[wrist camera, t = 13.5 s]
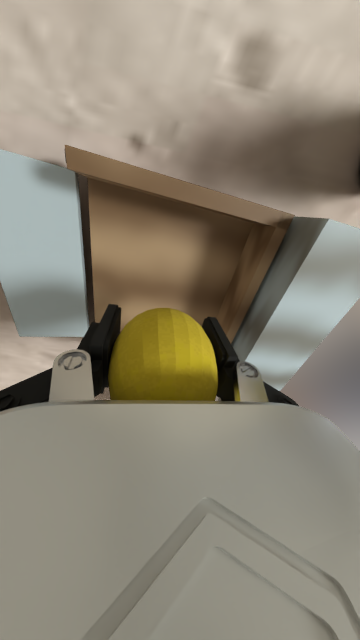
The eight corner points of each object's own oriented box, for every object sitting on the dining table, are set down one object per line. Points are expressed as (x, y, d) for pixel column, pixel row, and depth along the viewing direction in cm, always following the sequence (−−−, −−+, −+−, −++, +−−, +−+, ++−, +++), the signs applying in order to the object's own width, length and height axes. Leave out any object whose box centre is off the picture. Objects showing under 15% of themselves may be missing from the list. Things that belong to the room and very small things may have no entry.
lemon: (109, 332, 13) (59, 471, 6) (148, 270, 10) (138, 378, 4) (170, 358, 15) (184, 480, 8) (212, 312, 13) (277, 425, 6)
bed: (78, 158, 14) (-8, 102, 7) (311, 227, 19) (409, 239, 12) (90, 328, 23) (60, 386, 16) (246, 343, 28) (279, 391, 21)
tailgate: (79, 173, 13) (-32, 141, 11) (74, 170, 12) (-52, 134, 10) (90, 328, 21) (26, 327, 19) (88, 336, 20) (19, 336, 18)
